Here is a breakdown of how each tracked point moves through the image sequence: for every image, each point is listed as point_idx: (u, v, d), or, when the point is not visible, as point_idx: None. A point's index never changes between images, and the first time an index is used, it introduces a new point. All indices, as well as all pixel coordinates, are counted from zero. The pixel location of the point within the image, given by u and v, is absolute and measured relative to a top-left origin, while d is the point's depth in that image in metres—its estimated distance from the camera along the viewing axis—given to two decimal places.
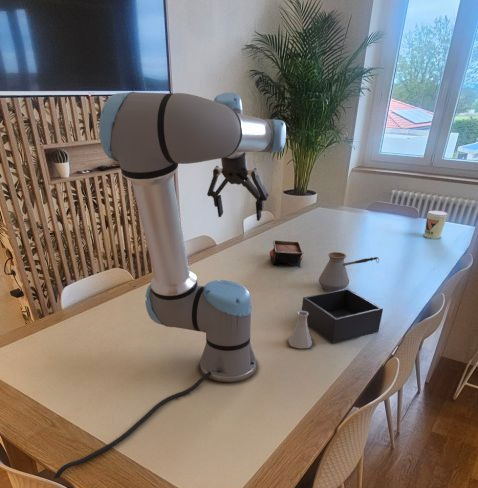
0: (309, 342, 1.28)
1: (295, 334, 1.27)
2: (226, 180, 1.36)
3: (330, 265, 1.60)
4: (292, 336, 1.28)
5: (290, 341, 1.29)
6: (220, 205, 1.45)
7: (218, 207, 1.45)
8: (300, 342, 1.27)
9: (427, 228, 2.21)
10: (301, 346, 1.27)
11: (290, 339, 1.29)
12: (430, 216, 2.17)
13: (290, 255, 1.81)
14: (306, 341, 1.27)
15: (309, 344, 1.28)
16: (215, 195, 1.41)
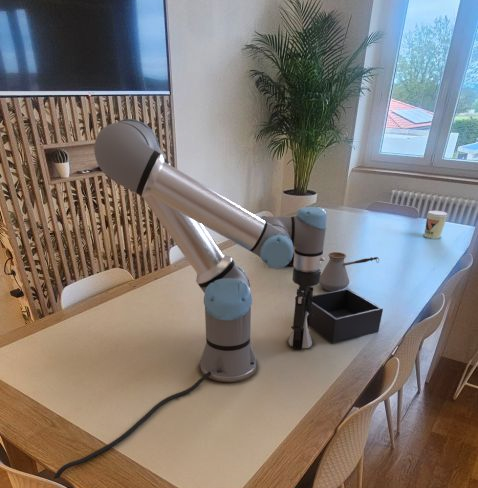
0: (309, 342, 1.28)
1: None
2: None
3: (330, 265, 1.60)
4: (292, 336, 1.28)
5: (290, 341, 1.29)
6: None
7: None
8: None
9: (427, 228, 2.21)
10: None
11: (290, 339, 1.29)
12: (430, 216, 2.17)
13: None
14: (306, 341, 1.27)
15: (309, 344, 1.28)
16: None
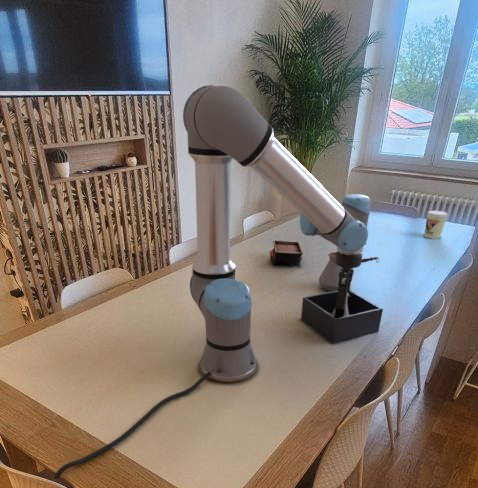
0: None
1: None
2: None
3: (330, 265, 1.60)
4: None
5: None
6: None
7: None
8: None
9: (427, 228, 2.21)
10: None
11: None
12: (430, 216, 2.17)
13: (290, 255, 1.81)
14: None
15: None
16: None
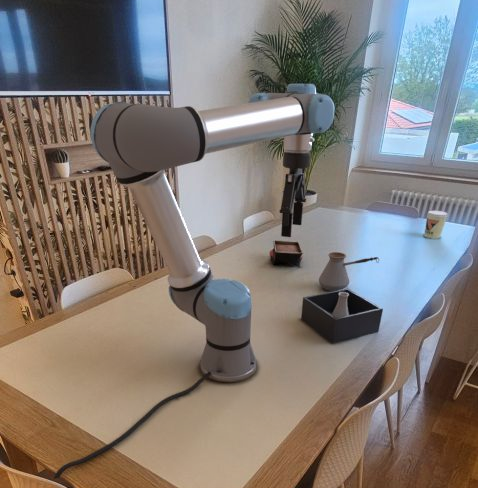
0: None
1: (336, 314, 1.36)
2: None
3: (330, 265, 1.60)
4: None
5: None
6: (297, 212, 1.33)
7: None
8: None
9: (427, 228, 2.21)
10: None
11: None
12: (430, 216, 2.17)
13: (290, 255, 1.81)
14: None
15: None
16: (295, 197, 1.31)
